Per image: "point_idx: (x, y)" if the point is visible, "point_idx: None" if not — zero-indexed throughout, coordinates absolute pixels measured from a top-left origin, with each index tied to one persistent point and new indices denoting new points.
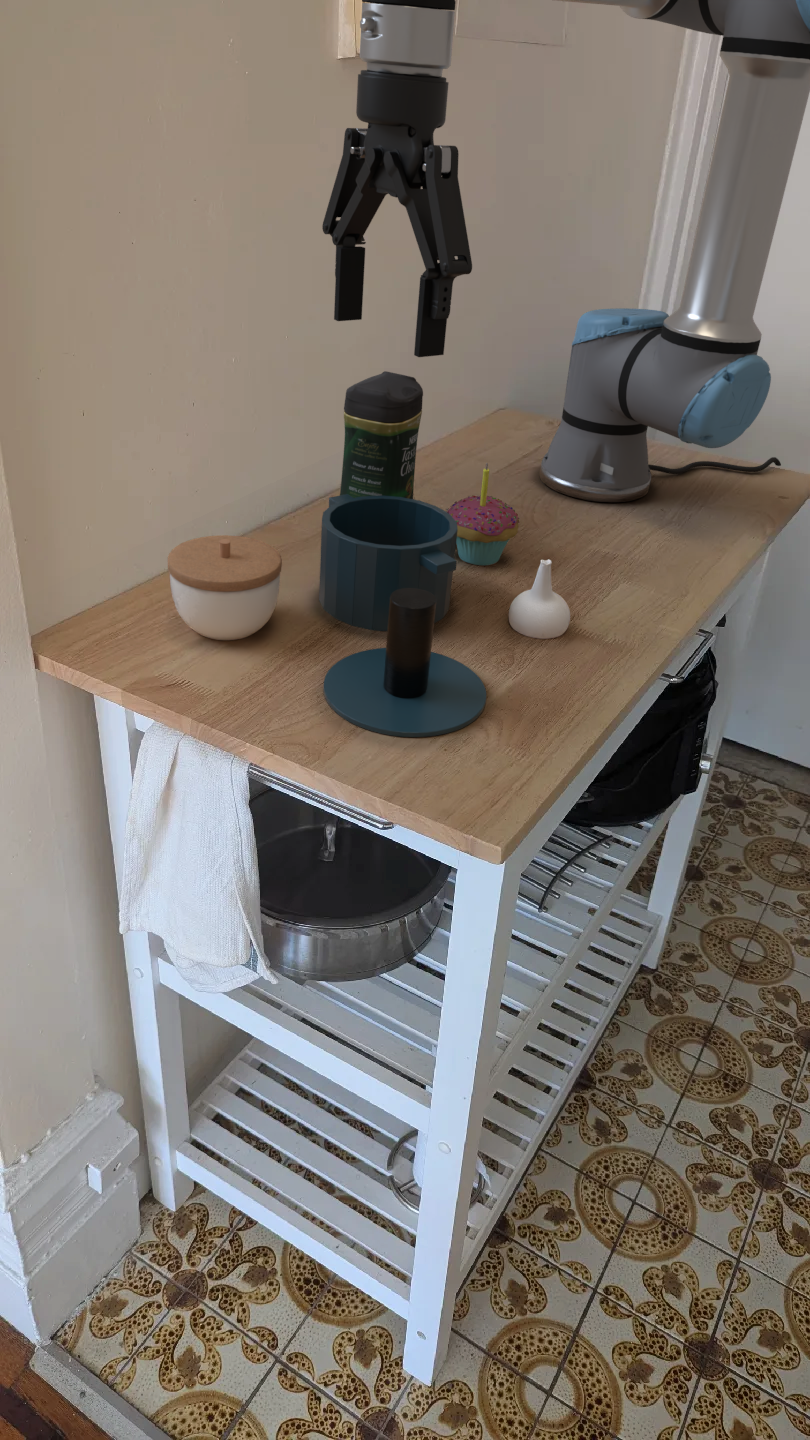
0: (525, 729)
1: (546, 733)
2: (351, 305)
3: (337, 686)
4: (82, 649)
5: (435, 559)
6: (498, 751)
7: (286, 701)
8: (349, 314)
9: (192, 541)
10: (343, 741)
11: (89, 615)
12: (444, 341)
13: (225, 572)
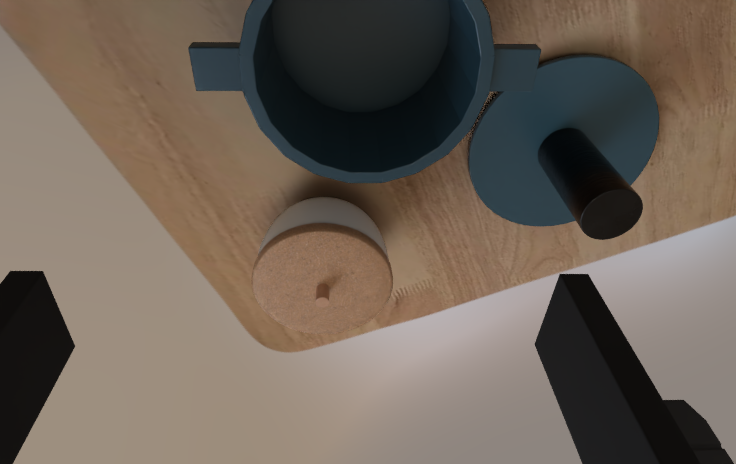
0: (704, 66)
1: (729, 50)
2: (32, 349)
3: (511, 207)
4: (301, 333)
5: (514, 80)
6: (698, 121)
7: (482, 239)
8: (52, 329)
9: (265, 300)
10: (568, 230)
11: (237, 312)
12: (607, 307)
13: (364, 303)
